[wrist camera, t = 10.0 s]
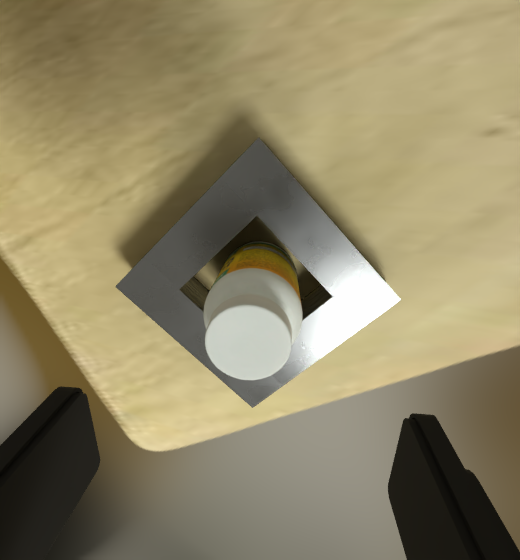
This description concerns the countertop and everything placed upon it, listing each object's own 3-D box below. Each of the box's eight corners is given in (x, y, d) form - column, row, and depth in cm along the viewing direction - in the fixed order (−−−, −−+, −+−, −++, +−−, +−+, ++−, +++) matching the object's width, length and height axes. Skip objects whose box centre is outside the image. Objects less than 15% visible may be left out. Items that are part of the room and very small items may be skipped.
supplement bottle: (287, 315, 25) (290, 404, 16) (217, 300, 25) (182, 381, 16) (305, 248, 23) (320, 306, 14) (230, 231, 23) (197, 279, 14)
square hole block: (261, 140, 21) (258, 137, 18) (386, 282, 24) (401, 300, 21) (134, 271, 24) (115, 286, 22) (255, 381, 27) (252, 407, 24)
